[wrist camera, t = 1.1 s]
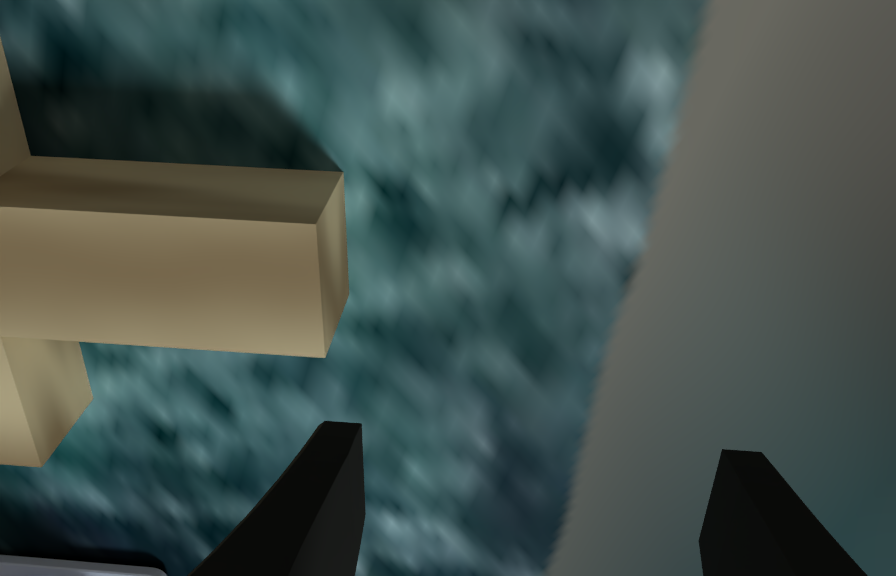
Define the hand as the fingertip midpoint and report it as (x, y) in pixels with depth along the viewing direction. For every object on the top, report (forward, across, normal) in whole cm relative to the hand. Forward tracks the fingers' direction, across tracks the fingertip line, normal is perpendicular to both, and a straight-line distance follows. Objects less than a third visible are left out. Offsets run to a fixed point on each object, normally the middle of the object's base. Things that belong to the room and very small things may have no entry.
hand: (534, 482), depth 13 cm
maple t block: (+8, +10, 0) cm, 14 cm away
